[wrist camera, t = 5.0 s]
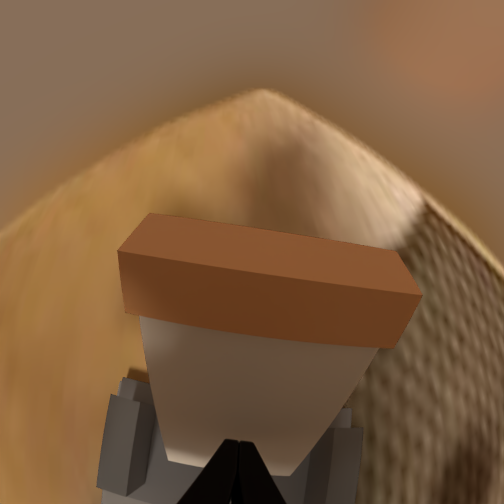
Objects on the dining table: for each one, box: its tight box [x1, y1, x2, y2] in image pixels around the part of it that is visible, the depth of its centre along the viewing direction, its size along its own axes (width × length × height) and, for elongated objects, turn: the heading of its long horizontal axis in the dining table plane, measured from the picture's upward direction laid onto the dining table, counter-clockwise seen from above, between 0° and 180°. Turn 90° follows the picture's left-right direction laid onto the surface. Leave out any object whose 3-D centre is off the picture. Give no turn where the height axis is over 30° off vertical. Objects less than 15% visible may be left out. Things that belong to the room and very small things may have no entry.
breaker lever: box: [117, 213, 423, 476], centre depth 8 cm, size 2×5×10 cm, turn 83°
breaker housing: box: [96, 377, 363, 504], centre depth 11 cm, size 10×14×8 cm
